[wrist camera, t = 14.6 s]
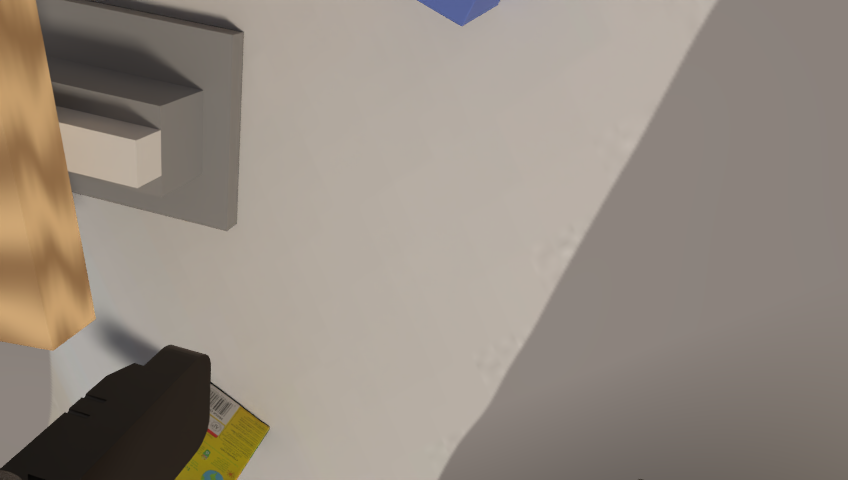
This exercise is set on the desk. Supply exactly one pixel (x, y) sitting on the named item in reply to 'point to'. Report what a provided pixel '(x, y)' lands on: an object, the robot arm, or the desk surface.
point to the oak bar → (35, 197)
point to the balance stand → (147, 108)
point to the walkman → (460, 8)
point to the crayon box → (225, 441)
